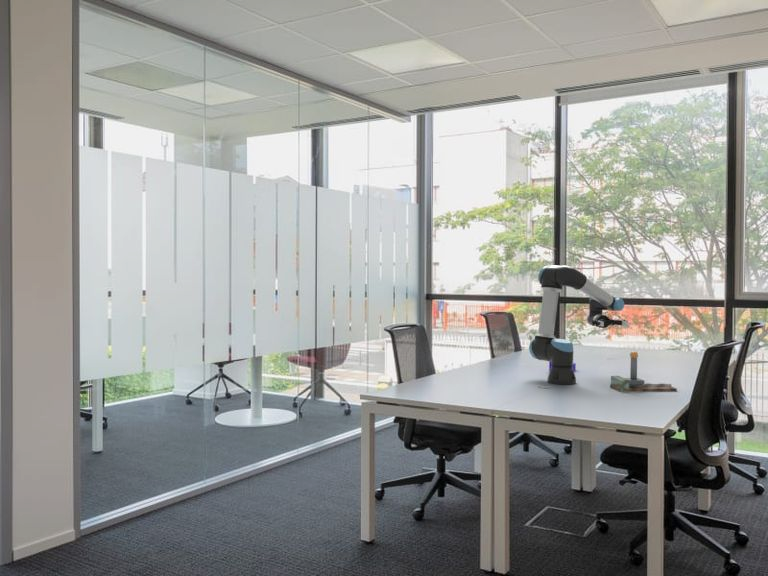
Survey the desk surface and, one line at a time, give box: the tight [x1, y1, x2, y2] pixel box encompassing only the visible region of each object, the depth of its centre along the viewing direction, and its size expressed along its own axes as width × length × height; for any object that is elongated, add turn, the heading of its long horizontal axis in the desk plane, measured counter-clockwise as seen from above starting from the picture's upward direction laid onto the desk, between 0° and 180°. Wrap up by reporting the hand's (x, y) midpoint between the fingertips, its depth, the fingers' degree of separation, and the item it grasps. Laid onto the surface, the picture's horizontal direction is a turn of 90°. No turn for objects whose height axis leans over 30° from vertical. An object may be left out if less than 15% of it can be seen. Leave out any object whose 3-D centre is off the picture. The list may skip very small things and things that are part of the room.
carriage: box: [624, 351, 645, 386], centre depth 354 cm, size 8×8×18 cm
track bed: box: [609, 375, 678, 393], centre depth 354 cm, size 30×14×6 cm, turn 92°
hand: (615, 324), depth 377 cm, fingers open, 13 cm apart
